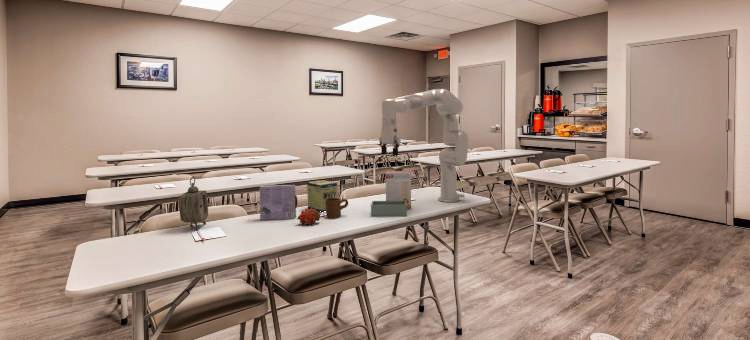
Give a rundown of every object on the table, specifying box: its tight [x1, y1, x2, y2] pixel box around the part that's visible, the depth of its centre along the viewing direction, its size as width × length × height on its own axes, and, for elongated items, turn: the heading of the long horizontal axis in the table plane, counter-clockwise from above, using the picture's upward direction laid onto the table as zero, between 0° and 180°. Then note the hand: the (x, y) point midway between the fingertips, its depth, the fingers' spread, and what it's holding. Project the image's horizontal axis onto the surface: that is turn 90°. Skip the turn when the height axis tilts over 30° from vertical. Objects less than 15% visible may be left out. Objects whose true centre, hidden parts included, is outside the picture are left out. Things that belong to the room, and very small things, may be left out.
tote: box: [370, 200, 408, 217], centre depth 231 cm, size 19×11×6 cm, turn 86°
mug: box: [325, 197, 349, 219], centre depth 228 cm, size 12×8×9 cm, turn 110°
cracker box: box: [385, 170, 412, 210], centre depth 243 cm, size 14×6×21 cm, turn 84°
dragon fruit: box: [296, 208, 321, 226], centre depth 214 cm, size 8×8×12 cm
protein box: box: [306, 179, 338, 213], centre depth 245 cm, size 10×16×16 cm
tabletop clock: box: [178, 176, 209, 230], centre depth 210 cm, size 14×9×25 cm, turn 5°
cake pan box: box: [259, 184, 298, 221], centre depth 225 cm, size 19×5×18 cm, turn 100°
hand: (389, 154), depth 233 cm, fingers open, 9 cm apart
